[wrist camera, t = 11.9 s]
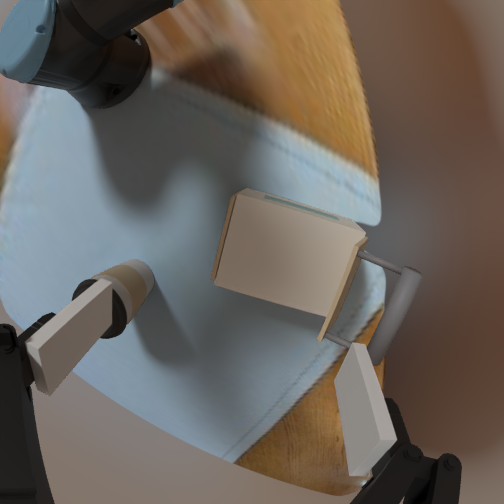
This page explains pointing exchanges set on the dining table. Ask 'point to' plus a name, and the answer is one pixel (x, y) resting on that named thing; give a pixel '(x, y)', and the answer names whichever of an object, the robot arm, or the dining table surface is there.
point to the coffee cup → (123, 292)
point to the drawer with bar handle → (393, 311)
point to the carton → (284, 251)
